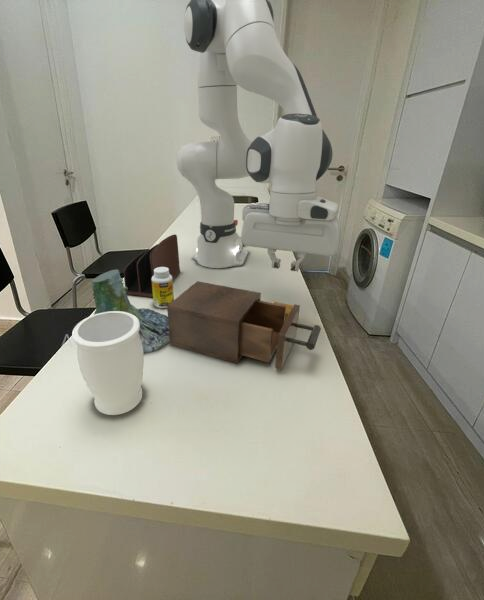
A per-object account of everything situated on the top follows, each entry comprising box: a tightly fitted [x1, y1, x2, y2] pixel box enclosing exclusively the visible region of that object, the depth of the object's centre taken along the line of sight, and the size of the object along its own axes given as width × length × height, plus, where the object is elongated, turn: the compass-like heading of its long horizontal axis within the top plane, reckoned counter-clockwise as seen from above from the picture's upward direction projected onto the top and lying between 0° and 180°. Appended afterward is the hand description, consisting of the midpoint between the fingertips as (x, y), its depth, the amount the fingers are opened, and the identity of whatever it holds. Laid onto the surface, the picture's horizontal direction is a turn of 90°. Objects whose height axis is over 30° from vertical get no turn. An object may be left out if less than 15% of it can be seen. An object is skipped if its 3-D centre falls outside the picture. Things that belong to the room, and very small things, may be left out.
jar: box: [71, 311, 145, 416], centre depth 55 cm, size 11×10×15 cm
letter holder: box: [123, 234, 181, 298], centre depth 100 cm, size 10×20×14 cm, turn 162°
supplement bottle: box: [151, 267, 175, 309], centre depth 88 cm, size 6×6×10 cm
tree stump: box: [91, 269, 170, 354], centre depth 75 cm, size 18×20×18 cm
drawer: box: [239, 300, 322, 371], centre depth 68 cm, size 20×13×8 cm, turn 62°
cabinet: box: [166, 280, 262, 364], centre depth 73 cm, size 16×14×10 cm
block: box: [273, 301, 294, 321], centre depth 78 cm, size 4×4×4 cm
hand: (285, 269), depth 73 cm, fingers open, 3 cm apart
